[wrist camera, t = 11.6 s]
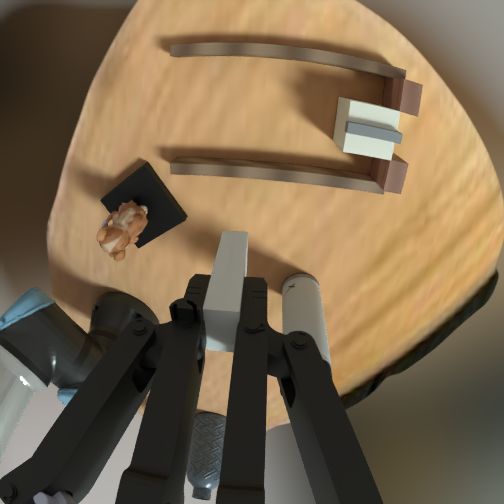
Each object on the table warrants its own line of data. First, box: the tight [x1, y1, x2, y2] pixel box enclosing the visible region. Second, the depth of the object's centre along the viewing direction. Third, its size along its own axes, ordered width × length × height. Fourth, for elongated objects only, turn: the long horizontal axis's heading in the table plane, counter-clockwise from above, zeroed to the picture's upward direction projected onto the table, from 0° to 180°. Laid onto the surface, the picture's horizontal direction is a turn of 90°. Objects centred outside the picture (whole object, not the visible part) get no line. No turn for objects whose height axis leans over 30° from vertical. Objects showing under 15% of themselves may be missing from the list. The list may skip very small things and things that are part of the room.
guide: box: [170, 42, 423, 194], centre depth 31 cm, size 29×17×6 cm, turn 86°
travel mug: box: [280, 274, 332, 395], centre depth 41 cm, size 6×7×20 cm
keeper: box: [333, 97, 402, 160], centre depth 30 cm, size 6×6×7 cm
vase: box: [186, 413, 226, 500], centre depth 70 cm, size 12×12×28 cm
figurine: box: [97, 162, 187, 261], centre depth 37 cm, size 10×10×12 cm
